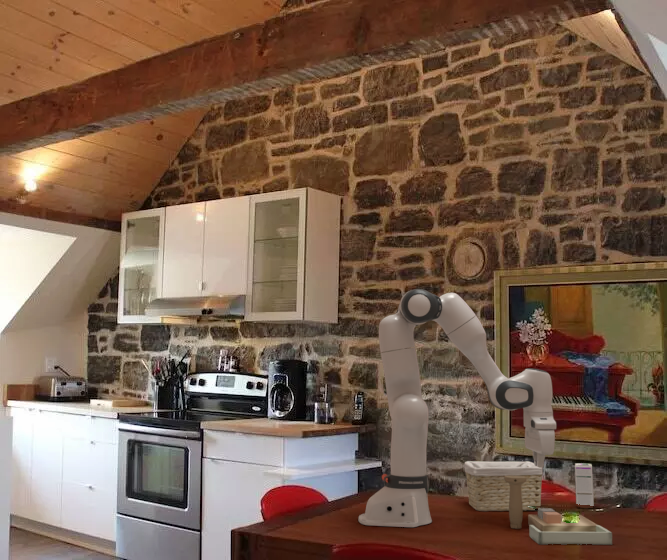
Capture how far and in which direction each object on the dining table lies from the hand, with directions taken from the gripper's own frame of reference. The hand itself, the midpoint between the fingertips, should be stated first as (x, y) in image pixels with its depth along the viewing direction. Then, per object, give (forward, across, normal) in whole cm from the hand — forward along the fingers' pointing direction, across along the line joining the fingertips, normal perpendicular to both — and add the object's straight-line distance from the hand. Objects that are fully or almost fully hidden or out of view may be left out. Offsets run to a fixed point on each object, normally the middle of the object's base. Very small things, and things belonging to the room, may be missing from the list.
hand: (539, 466), depth 244 cm
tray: (+17, +23, +2) cm, 28 cm away
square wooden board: (+17, +10, +4) cm, 20 cm away
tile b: (+14, +7, 0) cm, 16 cm away
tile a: (+14, +12, 0) cm, 19 cm away
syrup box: (+17, -28, +23) cm, 40 cm away
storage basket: (+18, -27, -5) cm, 33 cm away
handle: (+17, +6, -9) cm, 21 cm away
